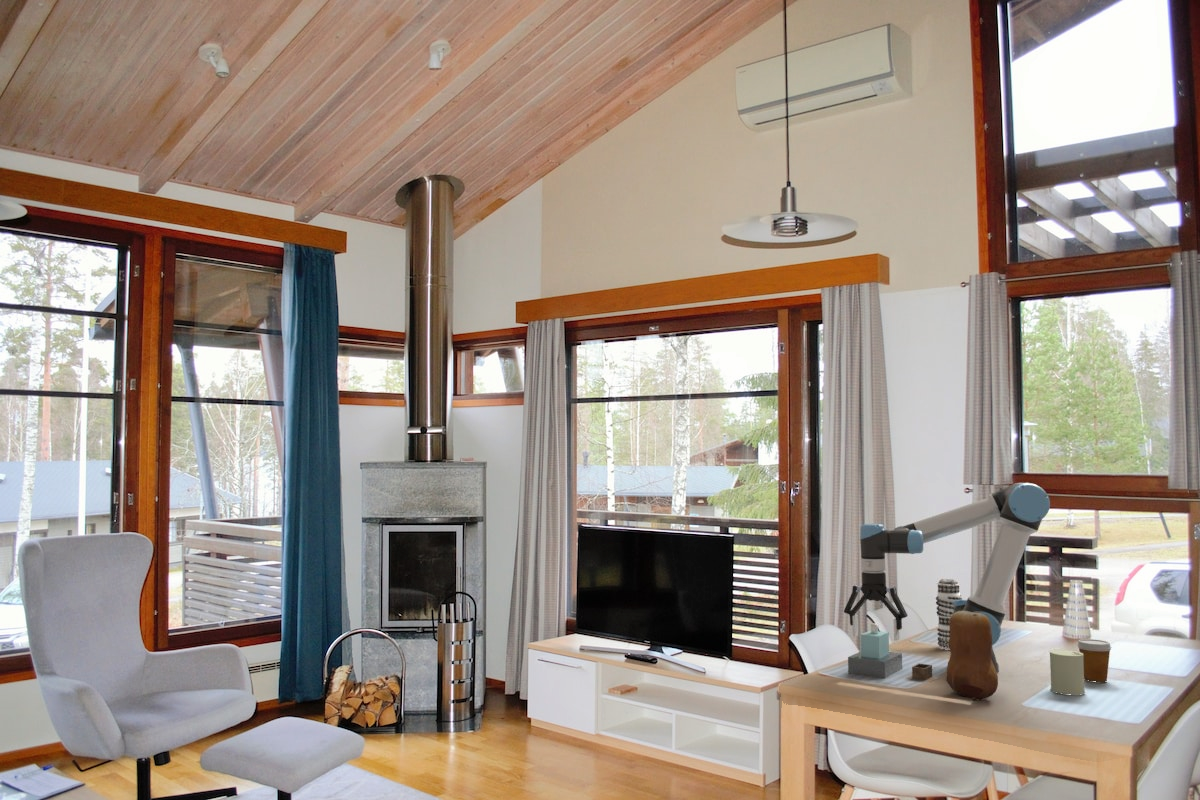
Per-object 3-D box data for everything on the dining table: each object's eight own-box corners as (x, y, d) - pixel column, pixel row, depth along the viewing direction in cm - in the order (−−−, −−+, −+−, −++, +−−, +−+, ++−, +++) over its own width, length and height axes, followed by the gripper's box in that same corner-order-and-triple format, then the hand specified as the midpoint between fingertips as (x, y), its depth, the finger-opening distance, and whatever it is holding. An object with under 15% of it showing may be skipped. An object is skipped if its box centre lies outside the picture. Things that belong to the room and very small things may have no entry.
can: (1083, 697, 268) (1082, 655, 269) (1048, 693, 273) (1047, 652, 273) (1086, 690, 276) (1084, 650, 276) (1052, 686, 280) (1051, 646, 281)
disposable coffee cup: (1100, 685, 282) (1098, 645, 283) (1071, 679, 290) (1070, 640, 291) (1119, 682, 286) (1118, 643, 287) (1090, 675, 295) (1089, 637, 295)
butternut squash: (993, 694, 272) (991, 608, 273) (1002, 705, 259) (1000, 615, 260) (943, 691, 275) (941, 606, 276) (950, 702, 262) (948, 614, 263)
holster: (939, 680, 289) (938, 665, 289) (931, 684, 283) (931, 670, 283) (913, 676, 294) (913, 662, 294) (905, 681, 287) (905, 666, 288)
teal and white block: (889, 666, 299) (888, 623, 300) (879, 671, 292) (878, 627, 293) (871, 664, 303) (870, 621, 304) (861, 669, 295) (860, 625, 296)
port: (902, 672, 300) (901, 652, 300) (885, 681, 287) (884, 660, 288) (866, 667, 307) (866, 648, 308) (848, 676, 294) (847, 656, 295)
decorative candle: (965, 647, 339) (964, 579, 341) (960, 652, 331) (958, 582, 333) (940, 645, 344) (938, 577, 346) (934, 649, 336) (932, 580, 338)
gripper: (832, 570, 304) (834, 635, 302) (907, 574, 289) (910, 643, 287) (841, 568, 310) (843, 632, 308) (915, 572, 295) (918, 639, 293)
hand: (876, 637), depth 298 cm, fingers open, 13 cm apart
